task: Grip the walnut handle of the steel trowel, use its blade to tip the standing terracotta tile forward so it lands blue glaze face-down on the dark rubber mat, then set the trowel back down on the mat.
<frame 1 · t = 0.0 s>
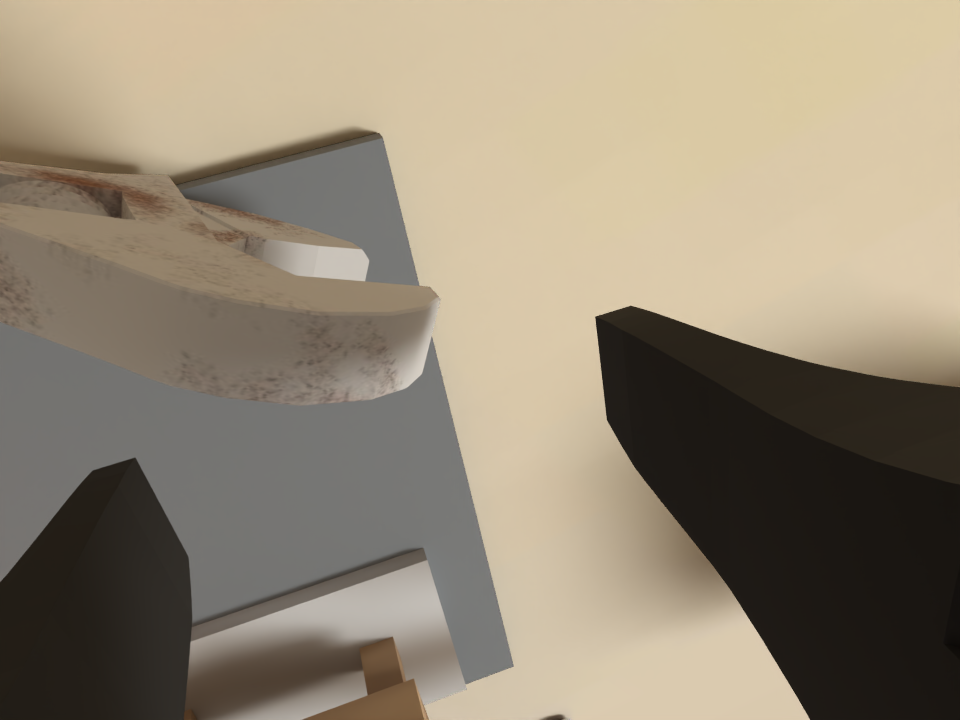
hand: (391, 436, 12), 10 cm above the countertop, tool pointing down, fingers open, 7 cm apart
mat: (50, 583, 23), on the countertop
trowel: (281, 674, 27), point 1 cm above the countertop, touching mat
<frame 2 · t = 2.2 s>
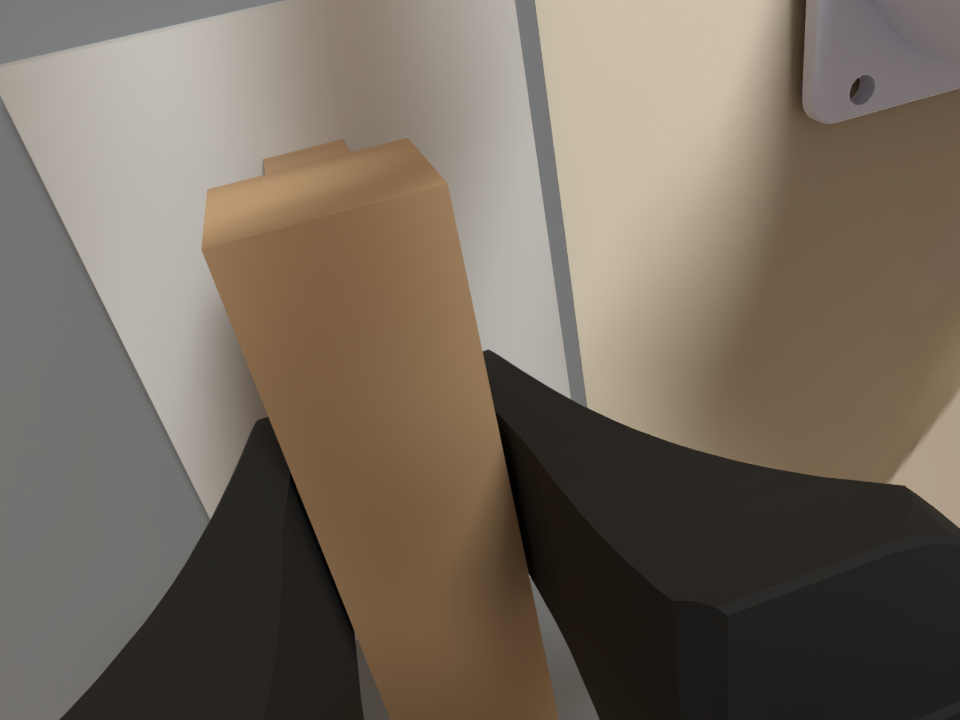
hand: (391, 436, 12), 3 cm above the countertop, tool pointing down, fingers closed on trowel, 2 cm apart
mat: (123, 639, 16), on the countertop
trowel: (368, 363, 14), point 1 cm above the countertop, touching gripper, mat
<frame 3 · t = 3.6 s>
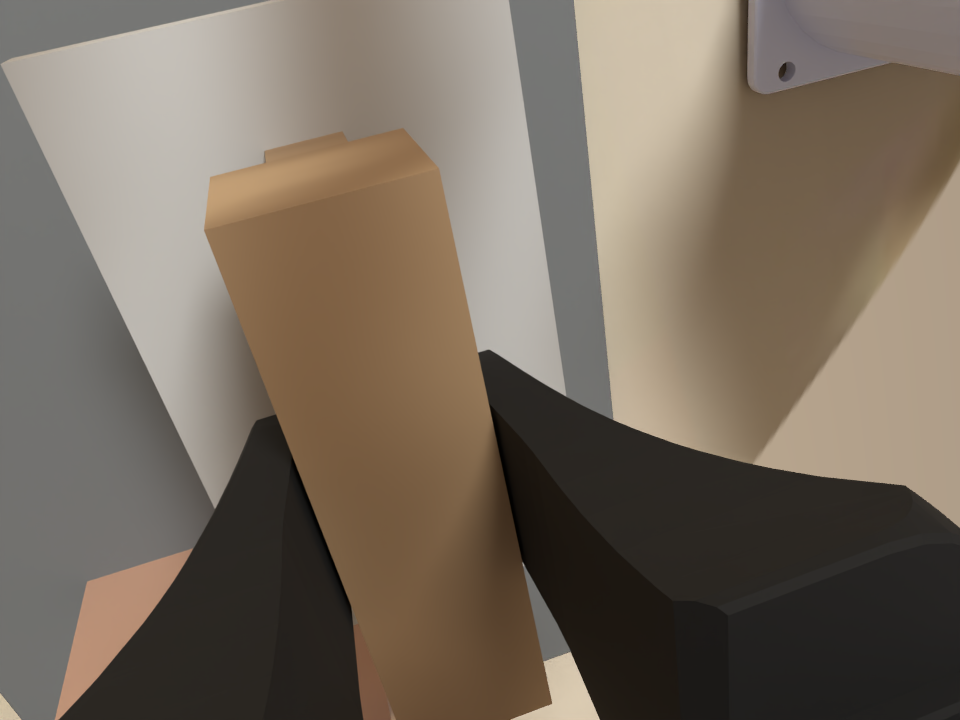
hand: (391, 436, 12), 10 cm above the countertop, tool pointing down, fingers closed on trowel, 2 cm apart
mat: (278, 447, 23), on the countertop
trowel: (366, 351, 14), point 7 cm above the countertop, touching gripper
tile: (227, 659, 20), point 5 cm above the countertop, touching mat
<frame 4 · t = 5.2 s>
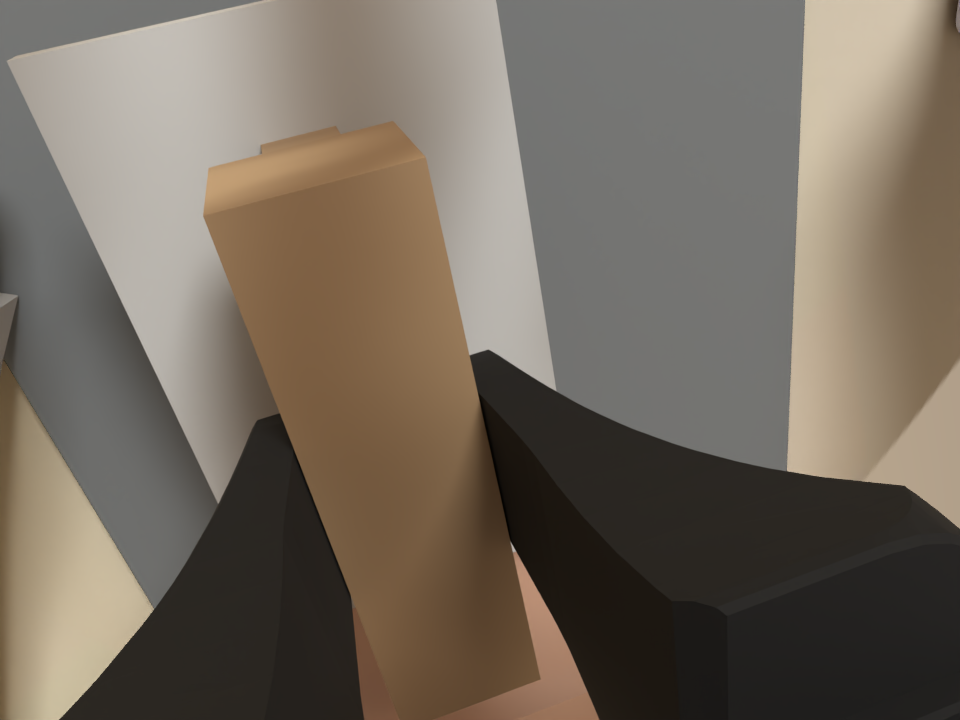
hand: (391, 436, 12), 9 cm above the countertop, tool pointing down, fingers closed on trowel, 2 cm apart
mat: (468, 405, 23), on the countertop
trowel: (360, 341, 15), point 6 cm above the countertop, touching gripper
tile: (445, 616, 20), point 5 cm above the countertop, touching mat
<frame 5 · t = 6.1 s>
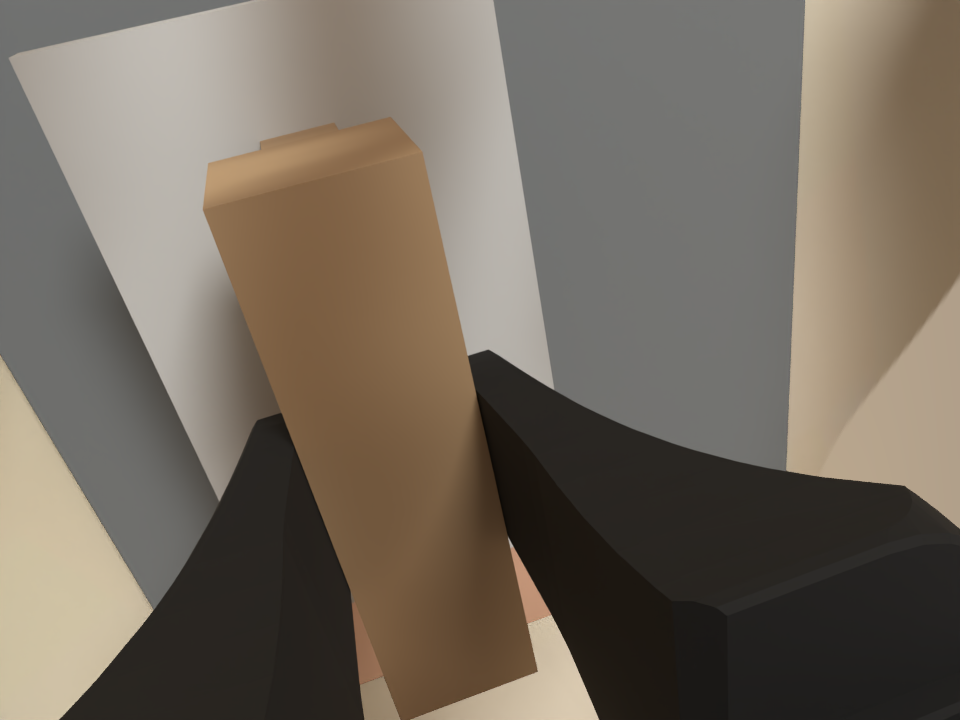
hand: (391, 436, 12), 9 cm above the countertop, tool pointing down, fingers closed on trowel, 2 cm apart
mat: (438, 275, 21), on the countertop
trowel: (359, 336, 15), point 5 cm above the countertop, touching gripper
tile: (422, 546, 23), point 1 cm above the countertop, tilted 90°, touching mat
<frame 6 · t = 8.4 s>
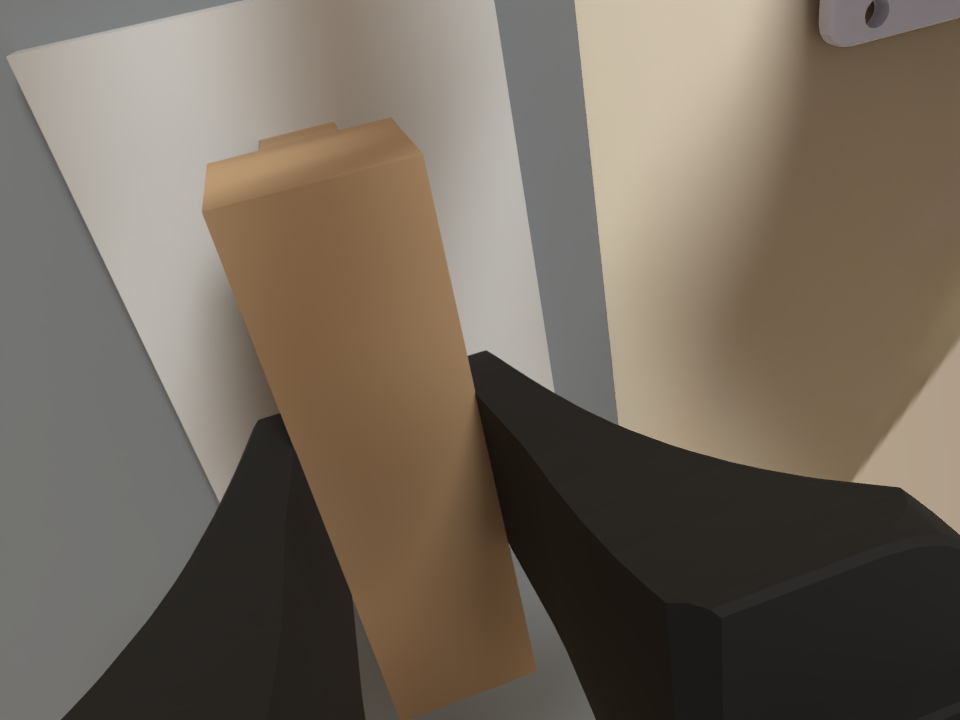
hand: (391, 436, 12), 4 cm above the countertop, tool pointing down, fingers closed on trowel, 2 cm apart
mat: (158, 555, 16), on the countertop
trowel: (358, 336, 15), point 1 cm above the countertop, touching gripper, mat
when the fingers open (4 cm above the countertop, at t = 8.5 s): trowel stays where it is, resting on mat.
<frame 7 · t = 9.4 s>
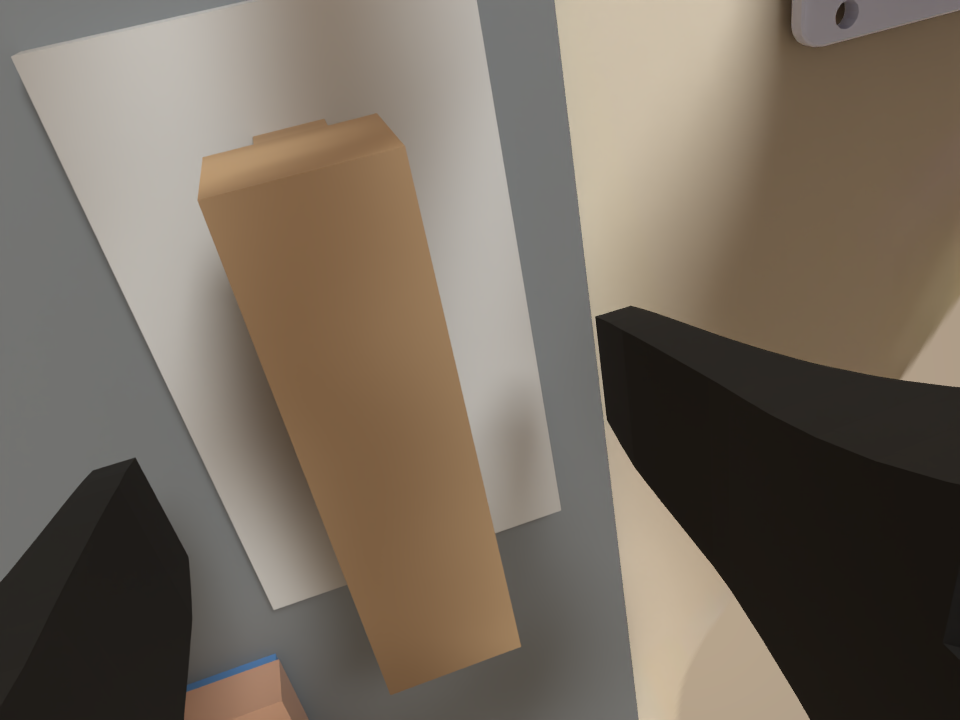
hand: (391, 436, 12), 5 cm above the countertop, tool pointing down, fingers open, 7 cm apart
mat: (156, 541, 17), on the countertop
trowel: (349, 326, 15), point 1 cm above the countertop, touching mat
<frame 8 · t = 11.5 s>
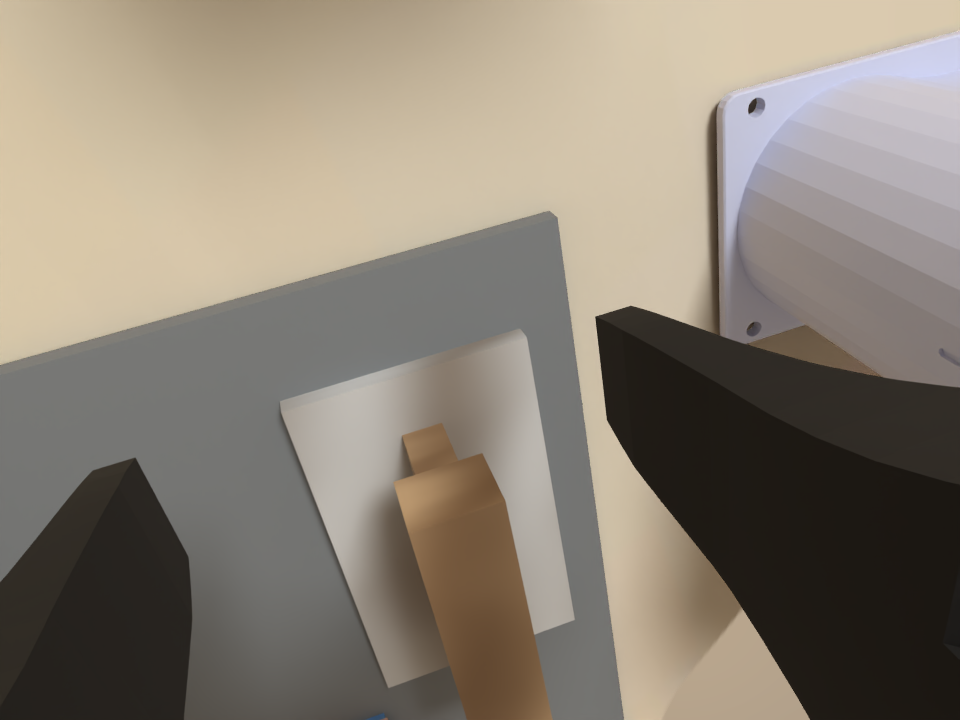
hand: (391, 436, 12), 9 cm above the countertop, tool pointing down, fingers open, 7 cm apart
mat: (314, 644, 26), on the countertop
trowel: (445, 519, 25), point 1 cm above the countertop, touching mat
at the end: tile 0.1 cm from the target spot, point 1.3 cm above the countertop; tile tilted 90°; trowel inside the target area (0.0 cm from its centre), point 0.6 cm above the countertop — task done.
